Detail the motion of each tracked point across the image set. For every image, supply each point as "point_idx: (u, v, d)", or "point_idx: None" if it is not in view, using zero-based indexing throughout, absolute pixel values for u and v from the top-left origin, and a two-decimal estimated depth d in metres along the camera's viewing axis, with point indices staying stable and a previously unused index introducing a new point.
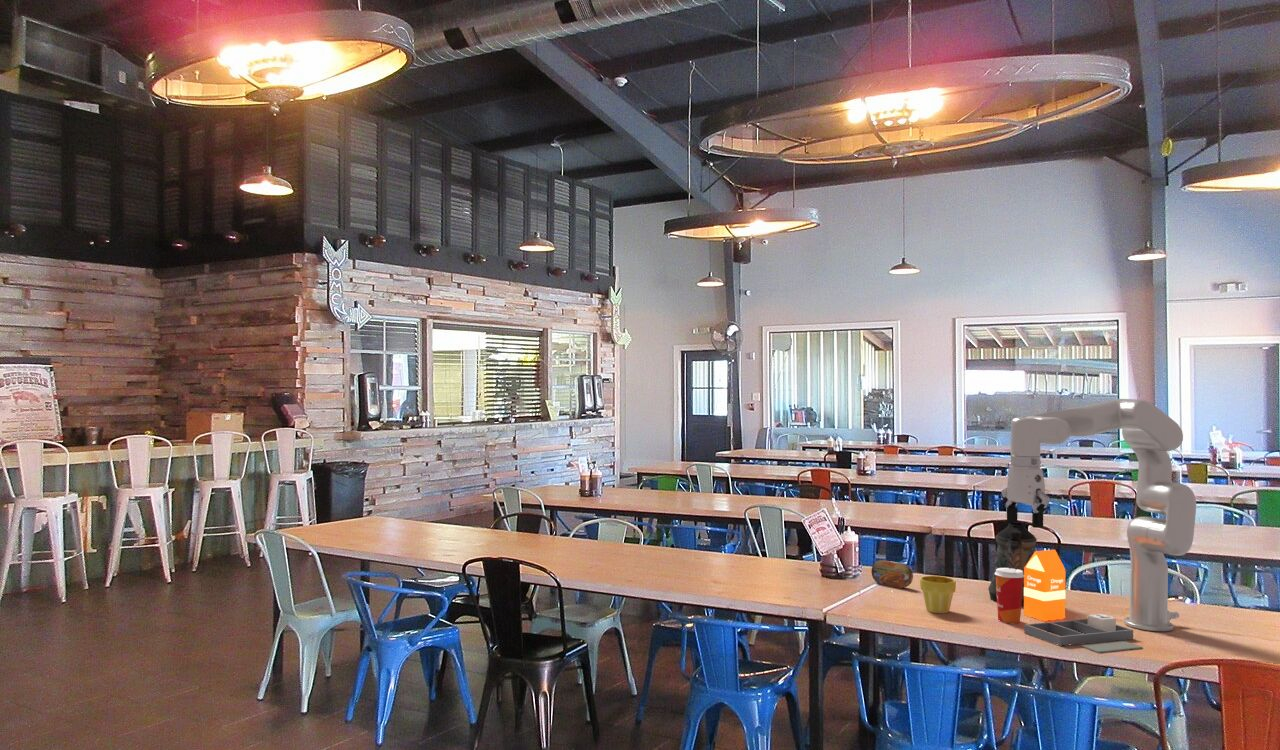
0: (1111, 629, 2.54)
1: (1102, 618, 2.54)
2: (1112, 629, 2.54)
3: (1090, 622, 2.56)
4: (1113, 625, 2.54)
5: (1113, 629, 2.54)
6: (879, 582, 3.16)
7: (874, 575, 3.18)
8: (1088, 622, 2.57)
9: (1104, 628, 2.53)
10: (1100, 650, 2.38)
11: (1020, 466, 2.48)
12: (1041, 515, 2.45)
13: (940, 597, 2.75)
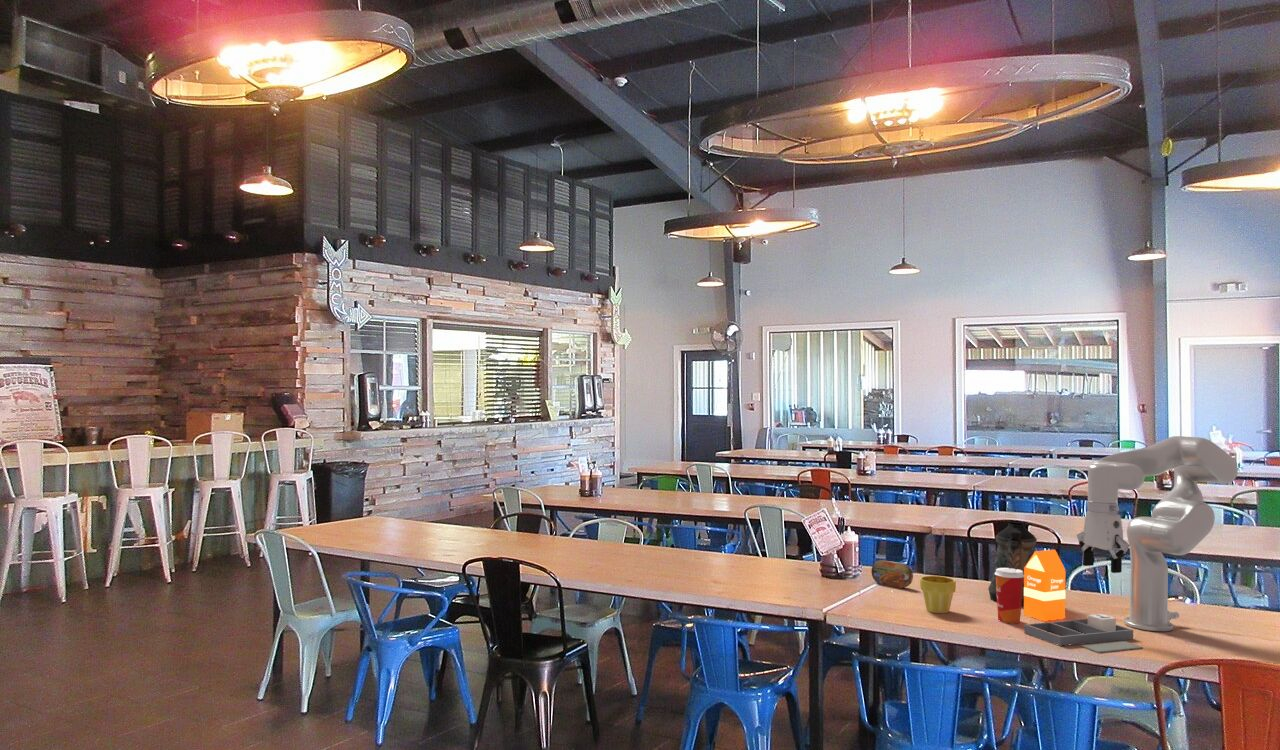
0: (1111, 629, 2.54)
1: (1102, 618, 2.54)
2: (1112, 629, 2.54)
3: (1090, 622, 2.56)
4: (1113, 625, 2.54)
5: (1113, 629, 2.54)
6: (879, 582, 3.16)
7: (874, 575, 3.18)
8: (1088, 622, 2.57)
9: (1104, 628, 2.53)
10: (1100, 650, 2.38)
11: (1098, 512, 2.53)
12: (1120, 561, 2.50)
13: (940, 597, 2.75)
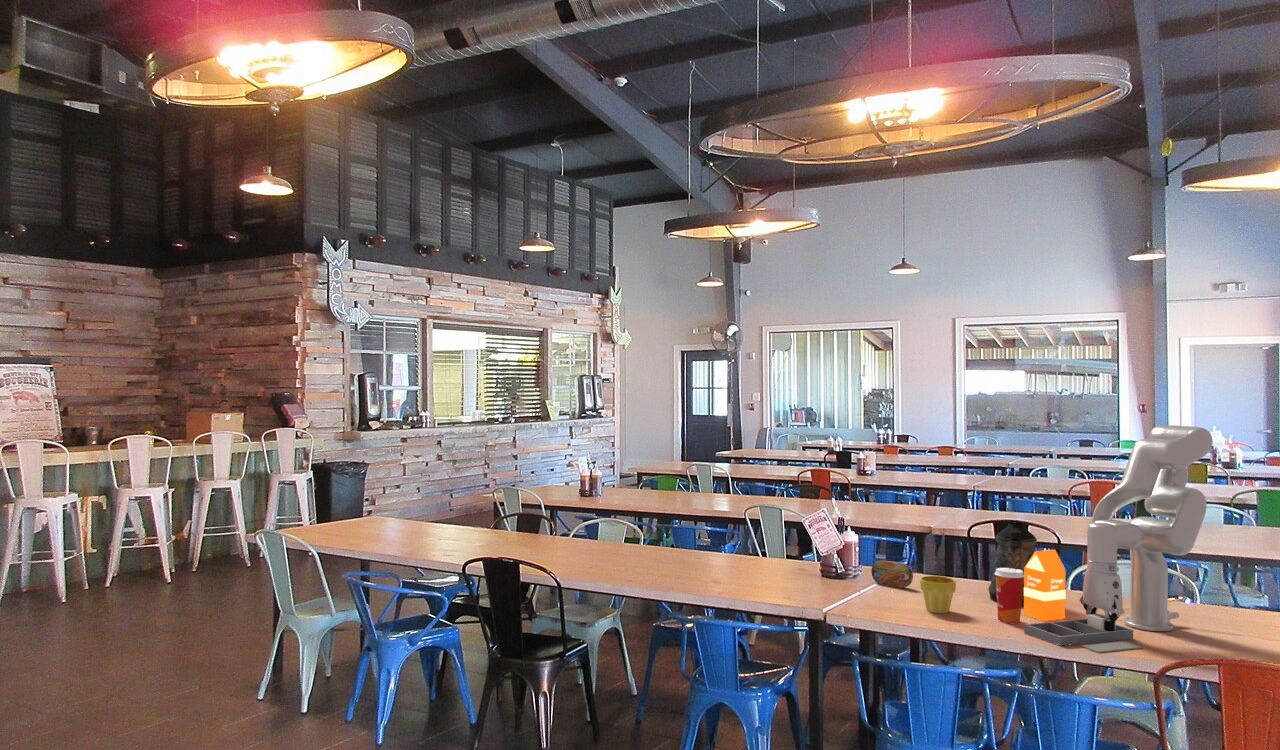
0: None
1: (1102, 618, 2.53)
2: None
3: (1090, 622, 2.56)
4: None
5: None
6: (879, 582, 3.16)
7: (874, 575, 3.18)
8: (1088, 622, 2.57)
9: None
10: (1100, 650, 2.38)
11: (1098, 572, 2.53)
12: (1113, 623, 2.52)
13: (940, 597, 2.75)
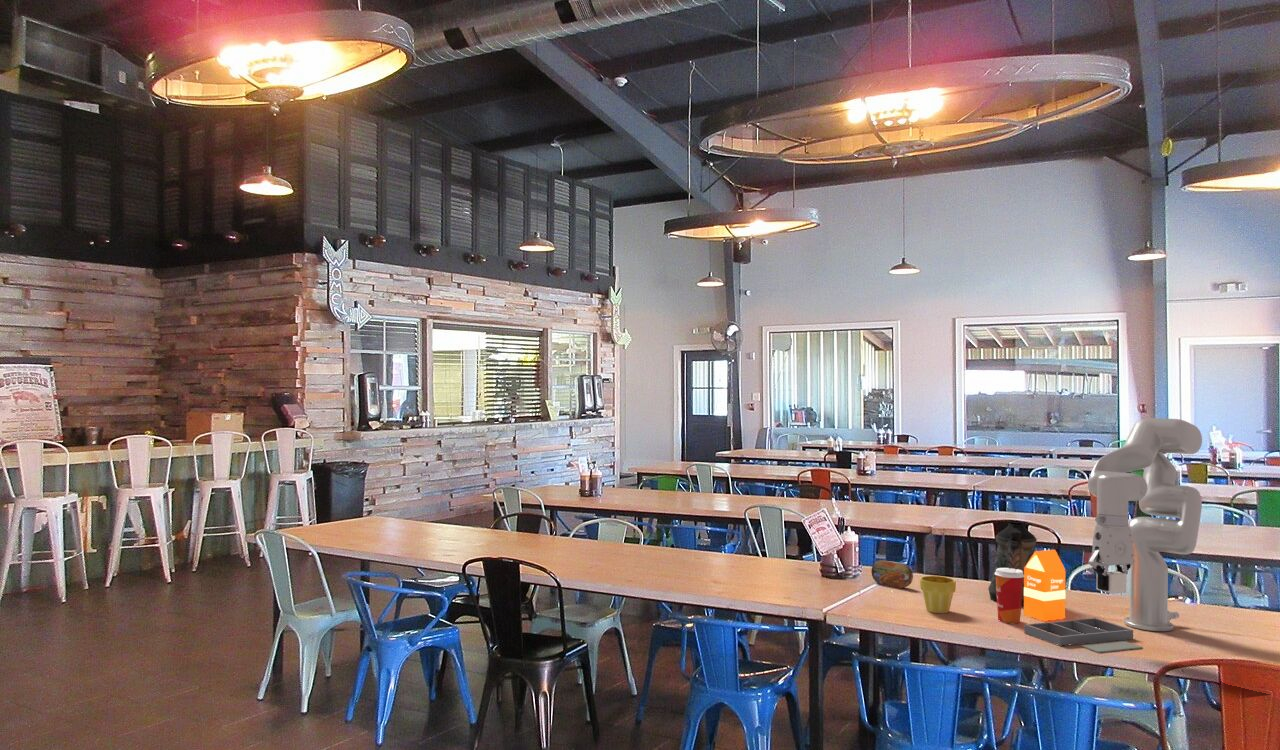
0: None
1: None
2: None
3: None
4: (1109, 581, 2.40)
5: (1109, 585, 2.40)
6: (879, 582, 3.16)
7: (874, 575, 3.18)
8: None
9: None
10: (1100, 650, 2.38)
11: None
12: (1101, 577, 2.41)
13: (940, 597, 2.75)
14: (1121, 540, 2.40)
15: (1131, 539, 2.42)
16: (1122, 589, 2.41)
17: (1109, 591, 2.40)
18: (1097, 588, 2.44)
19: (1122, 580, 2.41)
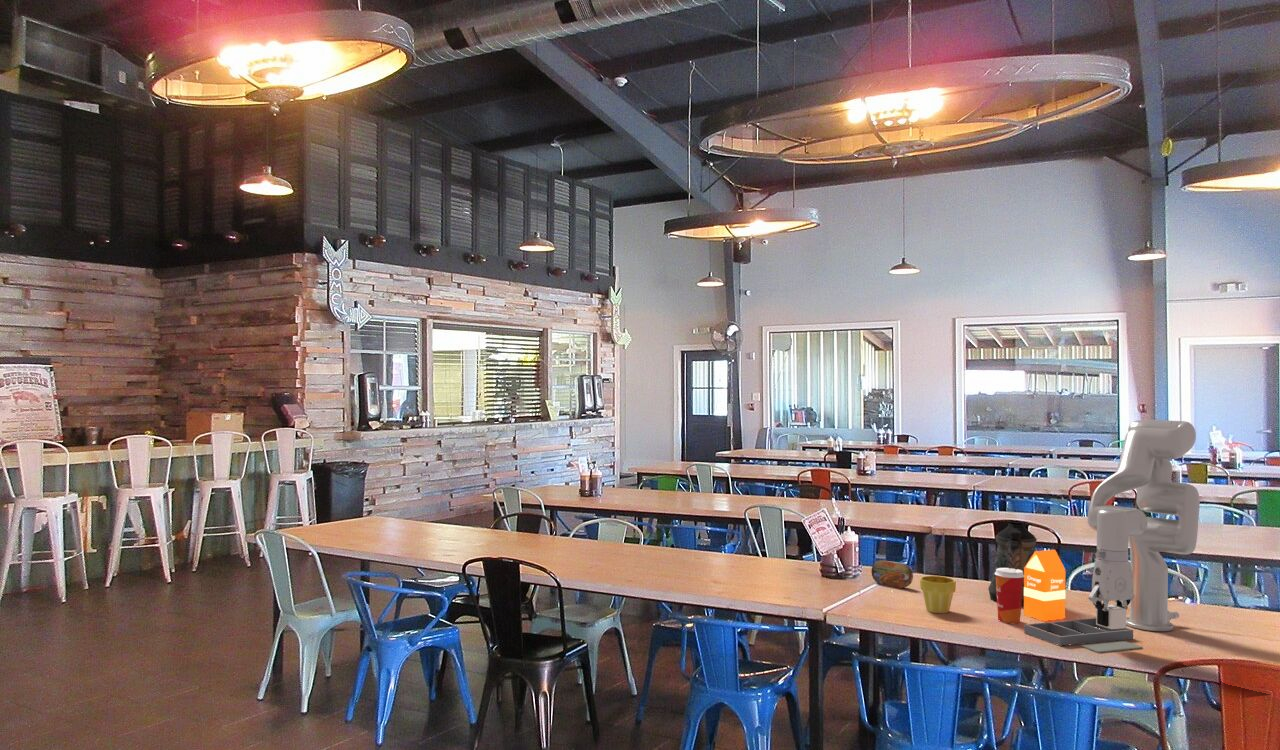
0: None
1: None
2: None
3: None
4: (1109, 616, 2.40)
5: (1108, 621, 2.40)
6: (879, 582, 3.16)
7: (874, 575, 3.18)
8: None
9: None
10: (1100, 650, 2.38)
11: None
12: (1101, 613, 2.41)
13: (940, 597, 2.75)
14: (1121, 575, 2.40)
15: (1131, 574, 2.41)
16: (1121, 624, 2.40)
17: (1109, 627, 2.40)
18: (1097, 623, 2.43)
19: (1122, 616, 2.40)
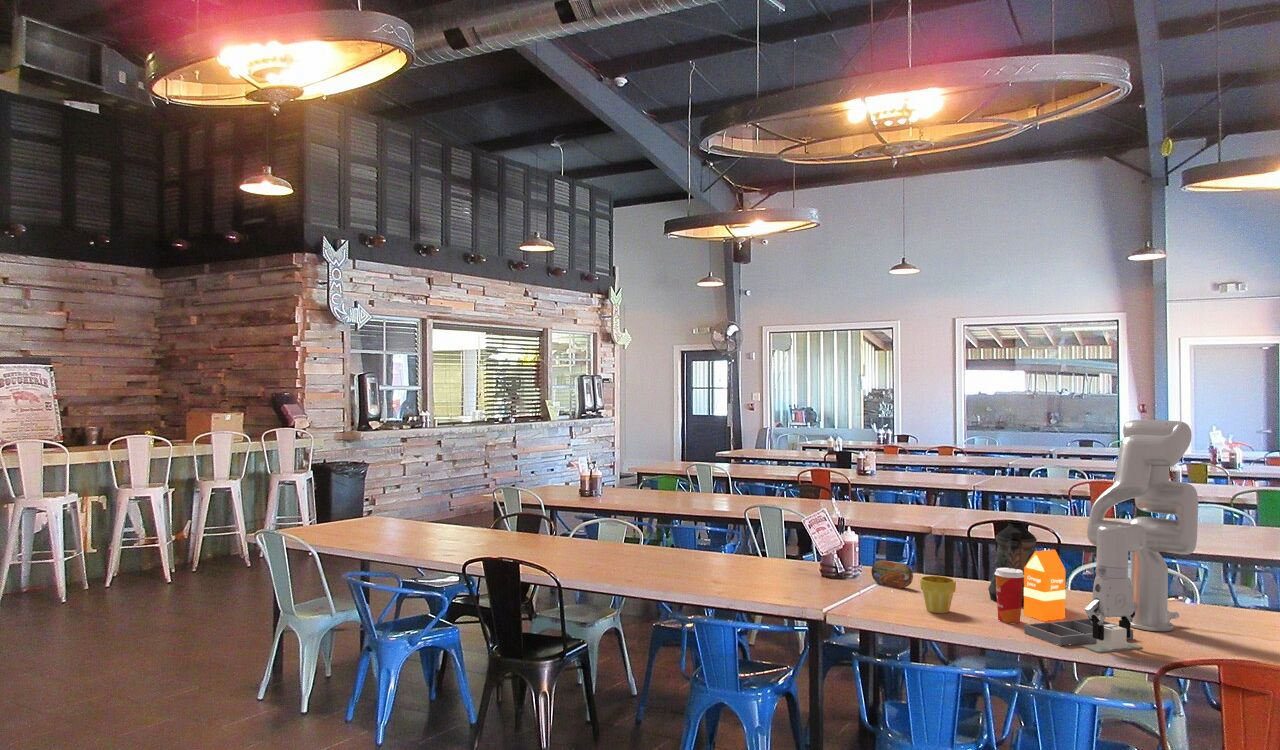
0: (1107, 640, 2.41)
1: None
2: (1108, 640, 2.40)
3: None
4: (1109, 637, 2.40)
5: (1109, 641, 2.40)
6: (879, 582, 3.16)
7: (874, 575, 3.18)
8: None
9: None
10: (1100, 650, 2.38)
11: None
12: (1096, 626, 2.40)
13: (940, 597, 2.75)
14: (1121, 592, 2.40)
15: (1131, 591, 2.41)
16: (1122, 644, 2.40)
17: (1109, 647, 2.40)
18: (1097, 643, 2.44)
19: (1122, 636, 2.40)
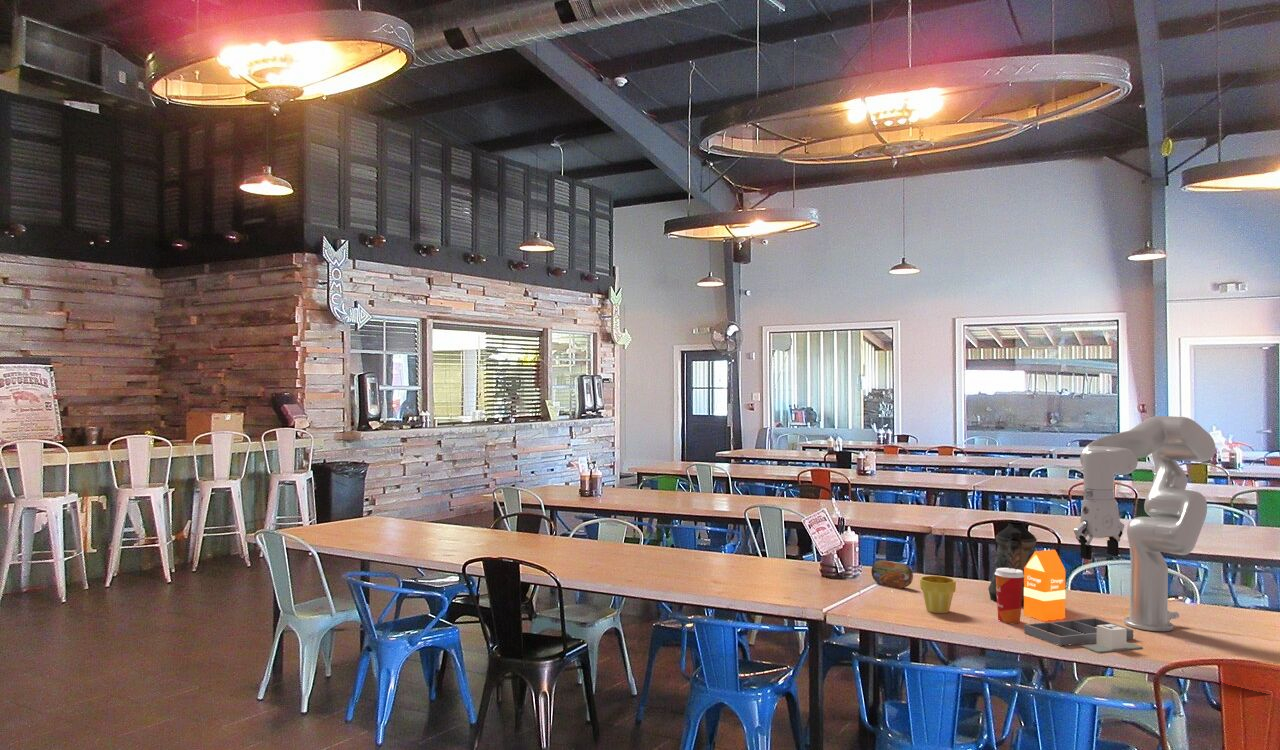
0: (1107, 640, 2.41)
1: (1101, 626, 2.43)
2: (1108, 640, 2.40)
3: None
4: (1109, 637, 2.40)
5: (1109, 641, 2.40)
6: (879, 582, 3.16)
7: (874, 575, 3.18)
8: None
9: (1099, 635, 2.43)
10: (1100, 650, 2.38)
11: None
12: (1084, 547, 2.47)
13: (940, 597, 2.75)
14: (1108, 513, 2.47)
15: (1117, 512, 2.48)
16: (1122, 644, 2.40)
17: (1109, 647, 2.40)
18: (1097, 643, 2.44)
19: (1122, 636, 2.40)
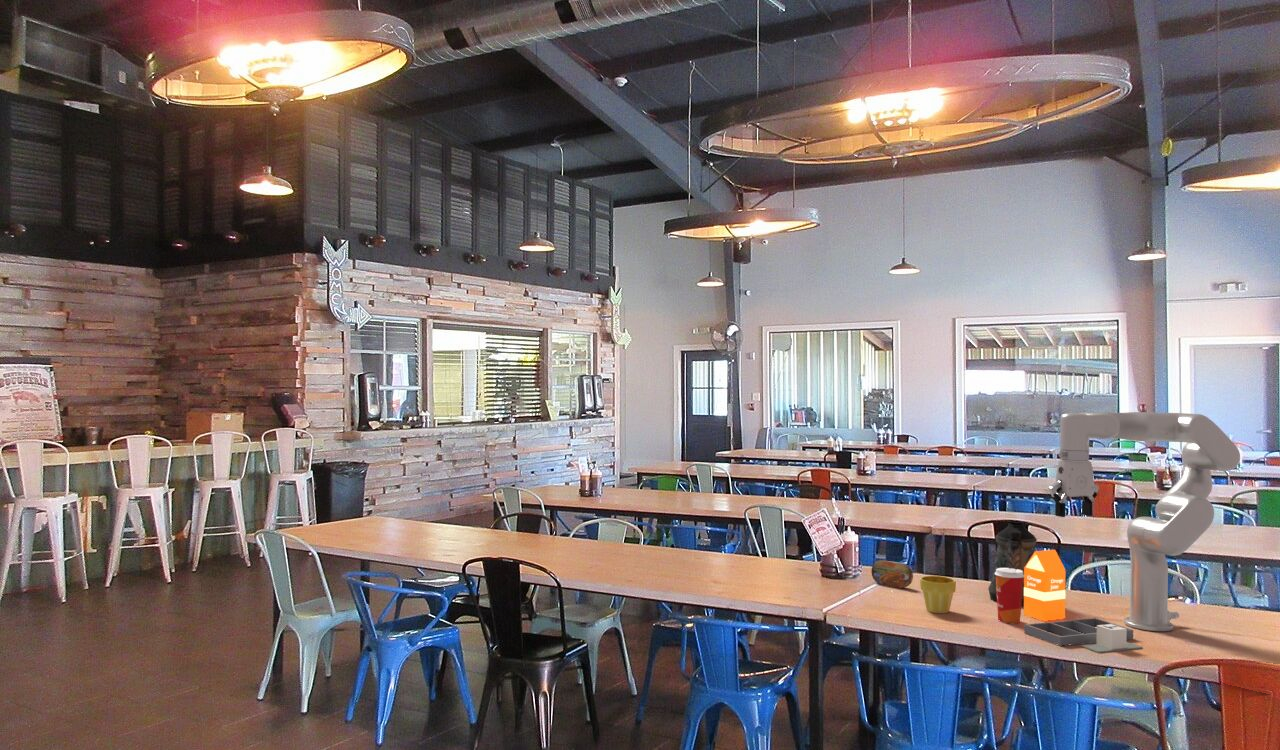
0: (1107, 640, 2.41)
1: (1101, 626, 2.43)
2: (1108, 640, 2.40)
3: None
4: (1109, 637, 2.40)
5: (1109, 641, 2.40)
6: (879, 582, 3.16)
7: (874, 575, 3.18)
8: None
9: (1099, 635, 2.43)
10: (1100, 650, 2.38)
11: None
12: (1058, 505, 2.59)
13: (940, 597, 2.75)
14: (1082, 473, 2.58)
15: (1092, 473, 2.60)
16: (1122, 644, 2.40)
17: (1109, 647, 2.40)
18: (1097, 643, 2.44)
19: (1122, 636, 2.40)
